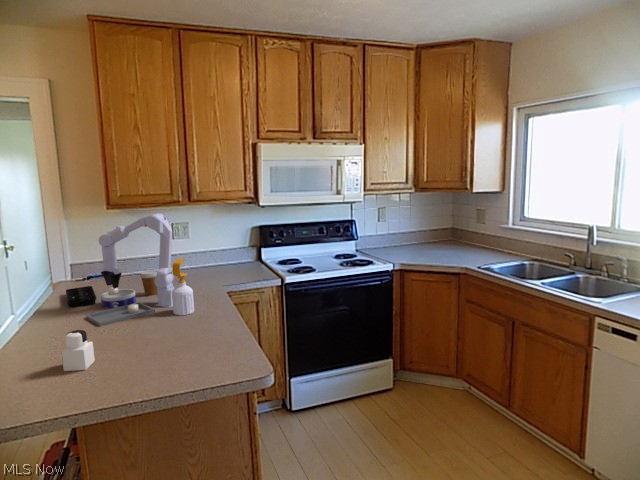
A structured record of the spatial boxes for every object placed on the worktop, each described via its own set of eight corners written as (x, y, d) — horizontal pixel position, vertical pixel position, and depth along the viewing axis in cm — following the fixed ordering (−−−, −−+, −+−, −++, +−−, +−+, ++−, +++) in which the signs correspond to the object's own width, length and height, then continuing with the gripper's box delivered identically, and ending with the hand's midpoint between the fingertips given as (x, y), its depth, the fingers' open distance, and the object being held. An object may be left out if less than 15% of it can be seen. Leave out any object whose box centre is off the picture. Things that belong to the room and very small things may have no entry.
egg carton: (70, 310, 209) (69, 303, 208) (54, 298, 230) (53, 291, 230) (109, 302, 221) (108, 295, 220) (90, 291, 242) (89, 284, 242)
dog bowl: (102, 312, 205) (101, 299, 204) (101, 303, 218) (100, 291, 218) (137, 306, 212) (136, 294, 211) (134, 298, 225) (133, 287, 224)
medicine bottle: (73, 362, 151) (69, 328, 149) (95, 361, 151) (91, 327, 149) (63, 371, 144) (58, 336, 142) (86, 370, 144) (82, 335, 142)
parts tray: (139, 306, 212) (139, 302, 211) (155, 313, 201) (155, 308, 200) (86, 319, 195) (85, 314, 194) (100, 327, 184) (99, 322, 183)
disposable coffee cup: (138, 296, 229) (135, 273, 227) (151, 291, 237) (149, 269, 236) (152, 297, 225) (150, 275, 223) (165, 292, 234) (163, 270, 232)
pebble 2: (136, 309, 205) (135, 303, 204) (140, 311, 201) (139, 305, 201) (126, 312, 201) (126, 305, 201) (130, 314, 198) (130, 307, 198)
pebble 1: (116, 292, 216) (115, 285, 215) (120, 293, 213) (119, 287, 212) (107, 294, 213) (106, 287, 212) (110, 295, 210) (110, 289, 209)
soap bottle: (198, 310, 203) (194, 258, 199) (184, 316, 195) (180, 262, 191) (183, 308, 207) (179, 257, 203) (169, 314, 198) (164, 261, 194)
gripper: (95, 258, 212) (98, 285, 214) (106, 262, 202) (109, 290, 204) (110, 255, 217) (113, 282, 219) (122, 259, 207) (125, 287, 209)
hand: (112, 286), depth 212 cm, fingers open, 7 cm apart
